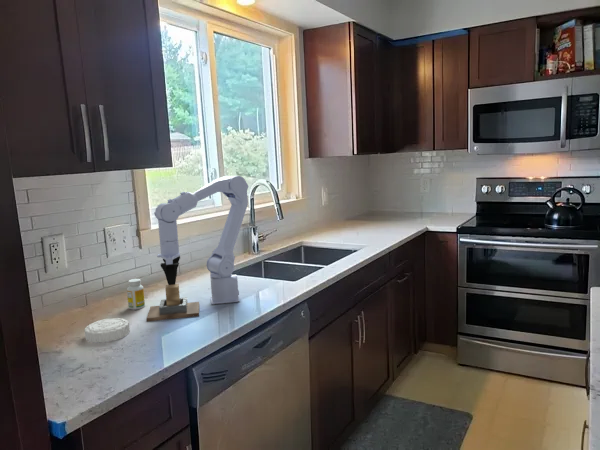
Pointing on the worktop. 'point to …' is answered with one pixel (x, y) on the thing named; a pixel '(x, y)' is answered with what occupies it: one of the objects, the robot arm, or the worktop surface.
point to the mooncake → (107, 330)
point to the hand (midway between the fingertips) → (172, 281)
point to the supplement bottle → (135, 294)
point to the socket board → (173, 310)
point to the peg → (172, 294)
